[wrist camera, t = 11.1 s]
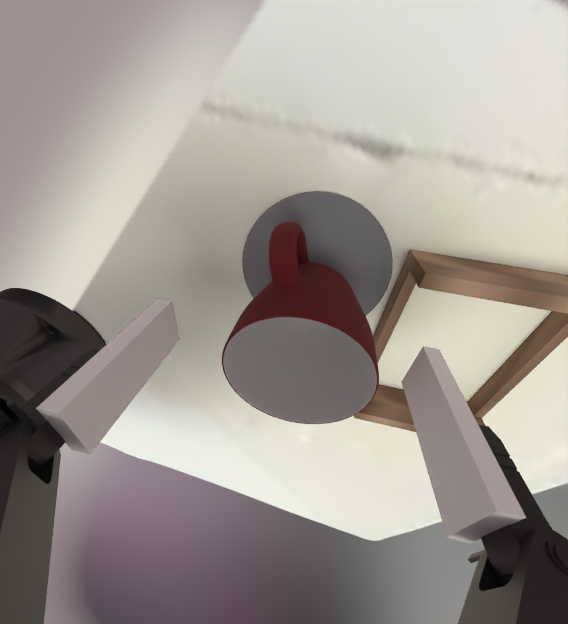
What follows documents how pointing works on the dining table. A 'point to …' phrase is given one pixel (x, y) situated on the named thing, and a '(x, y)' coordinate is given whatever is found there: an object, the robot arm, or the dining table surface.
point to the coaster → (326, 243)
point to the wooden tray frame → (481, 284)
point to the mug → (302, 340)
